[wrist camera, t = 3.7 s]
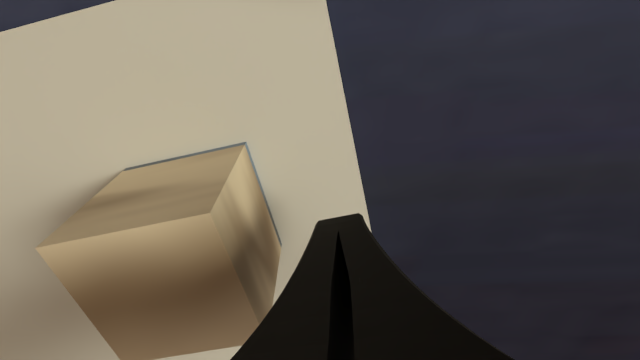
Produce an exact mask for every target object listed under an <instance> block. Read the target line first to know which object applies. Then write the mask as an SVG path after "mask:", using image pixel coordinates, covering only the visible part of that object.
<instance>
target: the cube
mask: <svg viewBox="0 0 640 360" xmlns="http://www.w3.org/2000/svg"><path fill="white" fill-rule="evenodd" d="M281 246H282V243H281V240H280V237H279V234H278V231H277V228H276V226H275V223H274V220H273V217H272V214H271V211H270V208H269V205H268V203H267V200H266V197H265V194H264V191H263V188H262V185H261V183H260V180H259V177H258V174H257V171H256V168H255V165H254V162H253V160H252V157H251V154H250V151H249V148H248V145H247V142H242V143H238V144H233V145H229V146H224V147H220V148H215V149H211V150H206V151H202V152H197V153H192V154H188V155H183V156H179V157H174V158H170V159H165V160H161V161H156V162H152V163H147V164H143V165H138V166H134V167H129V168H126V169H125V170H123V171H122V172H121V173H120V174H119V175H118V176H117V177H115V178H114V179H113V180H112V181H111V182H110V183H109V184H107V185H106V186H105V187H104V188H103V189H102V190H101V191H100V192H98V193H97V194H96V195H95V196H94V197H93V198H92V199H90V200H89V201H88V202H87V203H86V204H85V205H84V206H82V207H81V208H80V209H79V210H78V211H77V212H76V213H74V214H73V215H72V216H71V217H70V218H69V219H68V220H66V221H65V222H64V223H63V224H62V225H61V226H60V227H58V228H57V229H56V230H55V231H54V232H53V233H52V234H50V235H49V236H48V237H47V238H46V239H45V240H44V241H43V242H41V243H40V244H39V245H38V246H37V247H36V248H35V249H36V250H37V251H38V253H39V254H40V255H41V257H42V258H43V259H44V261H45V262H46V263H47V265H48V266H49V267H50V268H51V270H52V271H53V272H54V274H55V275H56V276H57V278H58V279H59V280H60V282H61V283H62V284H63V286H64V287H65V288H66V289H67V291H68V292H69V293H70V295H71V296H72V297H73V299H74V300H75V301H76V303H77V304H78V305H79V307H80V308H81V309H82V310H83V312H84V313H85V314H86V316H87V317H88V318H89V320H90V321H91V322H92V324H93V325H94V326H95V328H96V329H97V330H98V331H99V333H100V334H101V335H102V337H103V338H104V339H105V341H106V342H107V343H108V345H109V346H110V347H111V349H112V350H113V351H114V352H115V354H116V355H117V356H118V358H119V359H120V360H154V359H160V358H166V357H173V356H179V355H185V354H191V353H198V352H204V351H210V350H217V349H223V348H229V347H236V346H242V345H243V344H244V343H245V342H246V341H247V339H248V338H249V337H250V336H251V334H252V333H253V332H254V331H255V329H256V328H257V327H258V326H259V324H260V323H261V322H262V320H263V319H264V318H265V316H266V315H267V313H268V312H269V311H270V309H271V308H272V306H273V299H274V293H275V286H276V279H277V273H278V266H279V260H280V253H281Z"/></svg>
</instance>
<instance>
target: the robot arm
mask: <svg viewBox="0 0 640 360" xmlns="http://www.w3.org/2000/svg"><path fill="white" fill-rule="evenodd" d="M230 360H514V359H513V358H511V357H510V356H508V355H506V354H505V353H503V352H502V351H500V350H499V349H497V348H496V347H494V346H493V345H491V344H490V343H488V342H487V341H485V340H484V339H482V338H481V337H479V336H478V335H476V334H475V333H474V332H472V331H471V330H470V329H468V328H467V327H466V326H464V325H463V324H462V323H460V322H459V321H458V320H456V319H455V318H454V317H452V316H451V315H450V314H448V313H447V312H446V311H444V310H443V309H442V308H441V307H440V306H438V305H437V304H436V303H435V302H434V301H433V300H431V299H430V298H429V297H428V296H427V295H426V294H425V293H423V292H422V291H421V290H420V289H419V288H418V287H417V286H416V285H415V284H414V283H413V282H412V281H411V280H410V279H409V278H408V277H407V276H406V275H405V274H404V273H403V272H402V271H401V270H400V269H399V268H398V266H397V265H396V264H395V263H394V262H393V261H392V260H391V258H390V257H389V256H388V255H387V254H386V252H385V251H384V250H383V248H382V247H381V246H380V245H379V243H378V242H377V241H376V239H375V238H374V236H373V235H372V233H371V232H370V230H369V228H368V227H367V225H366V223H365V221H364V218H363V216H362V215H361V214H359V213H356V214H351V215H345V216H340V217H335V218H330V219H324V220H319V221H318V222H317V223H316V225H315V228H314V230H313V233H312V235H311V238H310V240H309V242H308V244H307V247H306V249H305V251H304V253H303V255H302V257H301V259H300V261H299V263H298V265H297V267H296V269H295V271H294V272H293V274H292V276H291V277H290V279H289V281H288V283H287V284H286V286H285V288H284V289H283V291H282V293H281V294H280V296H279V297H278V299H277V300H276V302H275V303H274V305H273V306H272V308H271V309H270V311H269V312H268V313H267V315H266V316H265V318H264V319H263V320H262V322H261V323H260V324H259V326H258V327H257V328H256V329H255V331H254V332H253V333H252V334H251V336H250V337H249V338H248V339H247V341H246V342H245V343H244V344H243V345H242V347H241V348H240V349H239V350H238V351H237V352H236V354H235V355H234V356H233V357H232V358H231V359H230Z"/></svg>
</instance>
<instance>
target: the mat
mask: <svg viewBox="0 0 640 360" xmlns="http://www.w3.org/2000/svg"><path fill="white" fill-rule="evenodd" d="M242 142H247V145H248V148H249V151H250V154H251V157H252V160H253V162H254V165H255V168H256V171H257V174H258V177H259V180H260V183H261V185H262V188H263V191H264V194H265V197H266V200H267V203H268V205H269V208H270V211H271V214H272V217H273V220H274V223H275V226H276V228H277V231H278V234H279V237H280V240H281V243H282V246H281V253H280V260H279V266H278V273H277V279H276V286H275V293H274V299H273V305H274V303H275V302H276V300H277V299H278V297H279V296H280V294H281V293H282V291H283V289H284V288H285V286H286V284H287V283H288V281H289V279H290V277H291V276H292V274H293V272H294V271H295V269H296V267H297V265H298V263H299V261H300V259H301V257H302V255H303V253H304V251H305V249H306V247H307V244H308V242H309V240H310V238H311V235H312V233H313V230H314V228H315V225H316V223H317V222H318V221H319V220H324V219H330V218H335V217H340V216H345V215H351V214H356V213H359V214H361V215H362V216H363V218H364V221H365V223H366V225H367V227H368V228H369V230H370V232H371V228H370V223H369V218H368V212H367V207H366V202H365V197H364V192H363V187H362V182H361V177H360V172H359V167H358V162H357V157H356V152H355V146H354V141H353V136H352V131H351V126H350V121H349V116H348V111H347V106H346V101H345V96H344V91H343V85H342V80H341V75H340V70H339V65H338V60H337V55H336V50H335V45H334V40H333V35H332V30H331V25H330V19H329V14H328V9H327V4H326V0H116V1H112V2H108V3H105V4H101V5H97V6H94V7H90V8H87V9H83V10H79V11H76V12H72V13H68V14H65V15H61V16H57V17H54V18H50V19H46V20H43V21H39V22H36V23H32V24H28V25H25V26H21V27H17V28H14V29H10V30H6V31H3V32H0V360H120V359H119V358H118V356H117V355H116V354H115V352H114V351H113V350H112V349H111V347H110V346H109V345H108V343H107V342H106V341H105V339H104V338H103V337H102V335H101V334H100V333H99V331H98V330H97V329H96V328H95V326H94V325H93V324H92V322H91V321H90V320H89V318H88V317H87V316H86V314H85V313H84V312H83V310H82V309H81V308H80V307H79V305H78V304H77V303H76V301H75V300H74V299H73V297H72V296H71V295H70V293H69V292H68V291H67V289H66V288H65V287H64V286H63V284H62V283H61V282H60V280H59V279H58V278H57V276H56V275H55V274H54V272H53V271H52V270H51V268H50V267H49V266H48V265H47V263H46V262H45V261H44V259H43V258H42V257H41V255H40V254H39V253H38V251H37V250H36V249H35V248H36V247H37V246H38V245H39V244H40V243H41V242H43V241H44V240H45V239H46V238H47V237H48V236H49V235H50V234H52V233H53V232H54V231H55V230H56V229H57V228H58V227H60V226H61V225H62V224H63V223H64V222H65V221H66V220H68V219H69V218H70V217H71V216H72V215H73V214H74V213H76V212H77V211H78V210H79V209H80V208H81V207H82V206H84V205H85V204H86V203H87V202H88V201H89V200H90V199H92V198H93V197H94V196H95V195H96V194H97V193H98V192H100V191H101V190H102V189H103V188H104V187H105V186H106V185H107V184H109V183H110V182H111V181H112V180H113V179H114V178H115V177H117V176H118V175H119V174H120V173H121V172H122V171H123V170H125V169H126V168H129V167H134V166H138V165H143V164H147V163H152V162H156V161H161V160H165V159H170V158H174V157H179V156H183V155H188V154H192V153H197V152H202V151H206V150H211V149H215V148H220V147H224V146H229V145H233V144H238V143H242ZM241 347H242V346H236V347H229V348H223V349H217V350H210V351H204V352H198V353H191V354H185V355H179V356H173V357H166V358H160V359H154V360H230V359H231V358H232V357H233V356H234V355H235V354H236V352H237V351H238V350H239V349H240V348H241Z"/></svg>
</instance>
